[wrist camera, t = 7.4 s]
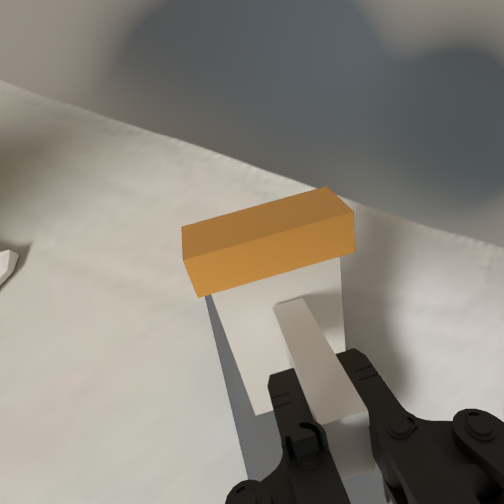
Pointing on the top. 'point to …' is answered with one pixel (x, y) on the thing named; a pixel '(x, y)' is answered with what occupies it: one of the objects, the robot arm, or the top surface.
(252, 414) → the block
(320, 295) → the lever
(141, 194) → the top surface
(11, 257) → the spray bottle
